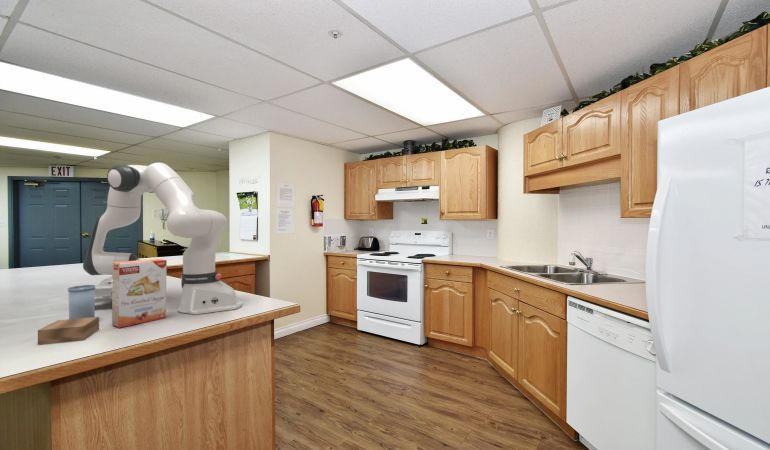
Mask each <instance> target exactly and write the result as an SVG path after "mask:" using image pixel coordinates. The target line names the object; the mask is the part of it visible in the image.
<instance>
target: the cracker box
mask: <svg viewBox="0 0 770 450" xmlns="http://www.w3.org/2000/svg"><path fill="white" fill-rule="evenodd" d="M112 276H113V278H112V299H111V301H112V305H111V307H112V308H111V309H112V311H111V314H112V315H111V325H112V326H114V327H116V328H118V329H120V328H124V327H125V328H126V327H128V326H134V325H138V324H143V323H147V322H152V321H156V320H162V319H166V317H167V259H162V258H155V259H154V258H153V259H139V260H136V261H125V262H113V275H112Z"/></svg>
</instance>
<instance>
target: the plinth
mask: <svg viewBox="0 0 770 450" xmlns="http://www.w3.org/2000/svg"><path fill="white" fill-rule="evenodd" d="M99 330H100V317H99V316H95V317H91V318H79V319H69V318H67V319H59V320H56V321H53V322H52V323H50V324H47V325H46V326H44V327H42V328H39V329H38V330H37V345H48V344H49V345H51V344H57V343H59V344H60V343H67V342H68V343H69V342H78V341H84V340H86V339H88V338H89V337H90V336H92V335H93V334H94V333H96V332H98V331H99Z"/></svg>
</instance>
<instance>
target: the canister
mask: <svg viewBox="0 0 770 450" xmlns="http://www.w3.org/2000/svg"><path fill="white" fill-rule="evenodd" d="M95 285H96V284H85V285H76V286H70V287H68V288H67V292H68V319H79V318H91V317H96V315H95V314H96V312H95V311H96V309H95V307H96V306H95V305H96V304H95V301H96V300H95V299H96V297H95Z"/></svg>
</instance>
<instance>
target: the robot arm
mask: <svg viewBox="0 0 770 450" xmlns="http://www.w3.org/2000/svg"><path fill="white" fill-rule="evenodd" d="M106 180H107V183H108V184H109V190H108V193H107V202H106V203H107V204H106V205H107V206H106V209H105V212H104V213H103V214H100V215H98V216H97V218H96V220H95V221H94V224H93V227H92V232H91V235H90V240H89V243H88V248H87V252H86V254H85V258H84V260H83V263H82V268H83V270H84V271H85V272H86V273H87V274H88V275H89V276H102V275H103V276H104V275H107V276H110V277H107V278H104V279H102V280H101V281H100V282H99V284H94V285H95V298H99V297H100V298H103V299H106V300H112V278H113V262H125V261H136V260H140V259H139V258H138V256H137V255H135V253H132V252H114V251H113V252H112V251H110V252H109V251H104V247H105V246H104V245H105V241H106V237H107V234H108V232H109V231H111V230H115V229H118V228H124V227H127V226H129V225H132V224H134V223H135V222H136V221H138V220H139V218H140V215H141V210H142V209H141V208H142V195H143V194H144V193H150V194H151V193H152V194H153V193H154V194H155V196H156V197H157V198H158V199H159V201H161V202H160V203H162V205H163V206H164V207H165V209H166V210H167V213H168V217H167V219H166V228H167V230H168V231H169V233H170V234H171V235H173V236H175V237H179V238H184V239H191V241H190V244H189V245H188V247H187V248H186V249H185V250H184V252H183V253H182V273H181V277H180V279H181V280H180V281H181V283H180V286H181V289H182V290H181V297H180V298H181V299H180V302H179V307H178V308H177V312H180V313H183V314H186V313H187V314H189V315H200V314H208V313H216V312H223V311H231V310H237V309H239V308H241V307H242V306H243V301H242V300H241V299H239V298H238V297H237V294H236V291H235V289H234V288H233V287H232V286H230V285H229V284H227V283H225V282H223V281H222V280H221V279H222V273H221V272H218V271H216V255H217V254H216V253H217V247H218V245H219V240H220V238H221V236H222V234H223V233H224V232H225V231H226V229H227V227H228V220H227V217H226V216H225V215H224V214H223V213H221V212H219V211H217V210H213V209H202V208H199V207H198V206H196V204H195V202H194V199H195V193H194V192H193V190H192V189H191V188H190V187H189V186H188V184H187V182H185V181H184V180H183V178H182V177H181V176H180V174H178V173H177V171H175V170H174V169H173V168H171V167H170V166H169V165H168V164H166V163H164V162H153V163H150V164H149V165H141V164H118V165H114V166H111V167H110V168H109V170H108V172H107V174H106Z"/></svg>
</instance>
